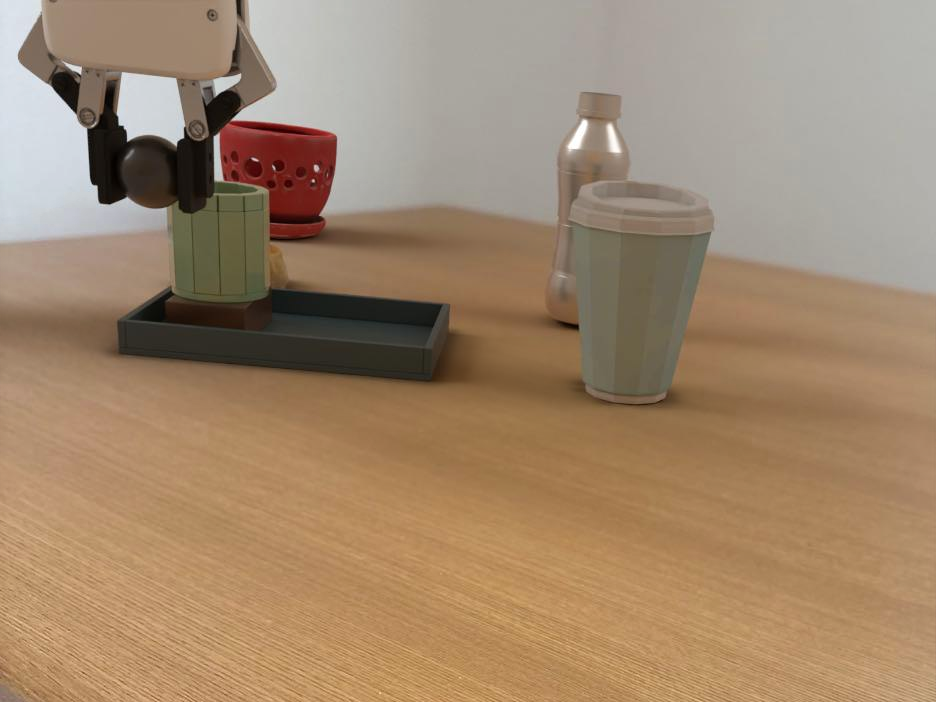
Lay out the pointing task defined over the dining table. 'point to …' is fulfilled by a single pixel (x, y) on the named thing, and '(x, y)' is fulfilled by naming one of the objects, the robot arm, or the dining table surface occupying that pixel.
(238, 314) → the riser
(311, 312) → the tray
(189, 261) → the jar
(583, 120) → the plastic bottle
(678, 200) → the disposable coffee cup
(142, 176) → the ball
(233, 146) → the flower pot
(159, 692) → the dining table surface
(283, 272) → the pastry
